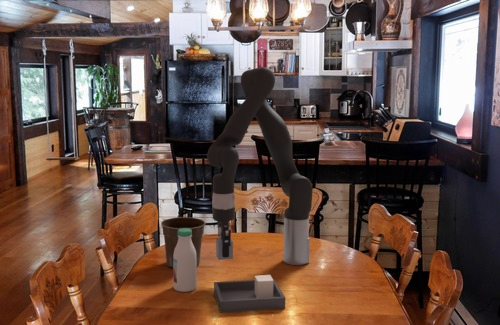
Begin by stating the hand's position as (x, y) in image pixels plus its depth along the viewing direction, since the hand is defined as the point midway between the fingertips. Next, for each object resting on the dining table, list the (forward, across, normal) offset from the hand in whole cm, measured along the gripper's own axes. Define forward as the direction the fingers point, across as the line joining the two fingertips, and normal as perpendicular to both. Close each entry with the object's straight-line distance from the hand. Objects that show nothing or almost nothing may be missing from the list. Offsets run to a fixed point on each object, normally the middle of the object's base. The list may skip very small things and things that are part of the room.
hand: (224, 254), depth 194 cm
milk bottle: (+10, +2, -14) cm, 17 cm away
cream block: (+9, +16, +10) cm, 21 cm away
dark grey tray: (+10, +16, +5) cm, 20 cm away
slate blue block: (+1, 0, 0) cm, 1 cm away
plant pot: (+10, -20, -12) cm, 26 cm away
